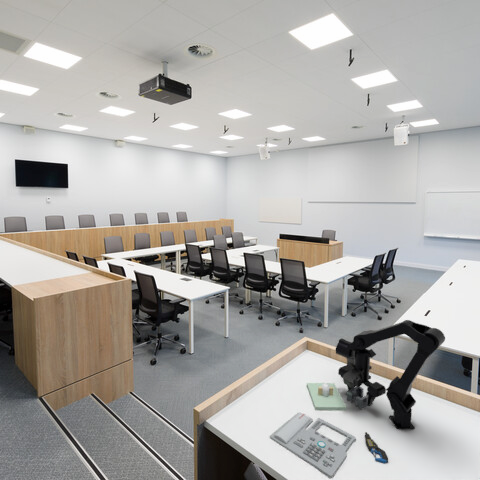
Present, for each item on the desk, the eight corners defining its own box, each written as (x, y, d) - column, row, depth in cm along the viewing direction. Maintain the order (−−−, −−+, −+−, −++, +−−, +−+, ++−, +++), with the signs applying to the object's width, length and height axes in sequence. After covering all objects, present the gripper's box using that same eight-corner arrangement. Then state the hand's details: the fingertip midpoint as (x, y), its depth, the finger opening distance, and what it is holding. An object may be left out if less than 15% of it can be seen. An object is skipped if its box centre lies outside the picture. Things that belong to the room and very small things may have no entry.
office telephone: (269, 432, 109) (300, 405, 124) (268, 439, 110) (300, 411, 124) (331, 472, 94) (359, 435, 108) (331, 480, 94) (359, 442, 108)
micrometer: (389, 459, 99) (373, 458, 100) (389, 465, 99) (372, 464, 100) (377, 431, 111) (362, 430, 111) (376, 436, 111) (361, 435, 112)
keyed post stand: (346, 410, 124) (346, 397, 123) (315, 409, 124) (315, 397, 123) (334, 385, 140) (334, 374, 139) (306, 385, 140) (307, 374, 139)
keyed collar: (372, 403, 128) (373, 394, 127) (360, 409, 124) (361, 400, 124) (358, 394, 134) (358, 385, 133) (346, 399, 130) (347, 390, 130)
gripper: (329, 358, 131) (328, 393, 133) (368, 380, 115) (365, 420, 117) (348, 351, 136) (346, 385, 138) (387, 372, 120) (385, 410, 122)
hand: (359, 399), depth 129 cm, fingers open, 9 cm apart
